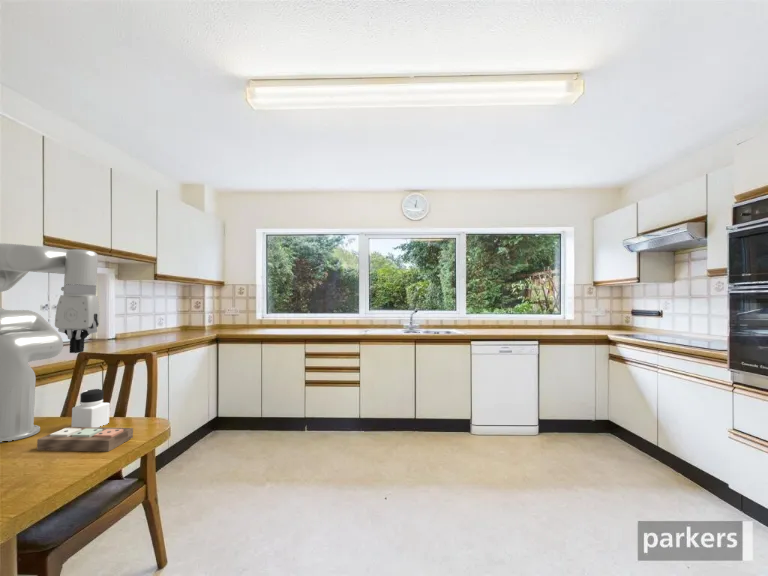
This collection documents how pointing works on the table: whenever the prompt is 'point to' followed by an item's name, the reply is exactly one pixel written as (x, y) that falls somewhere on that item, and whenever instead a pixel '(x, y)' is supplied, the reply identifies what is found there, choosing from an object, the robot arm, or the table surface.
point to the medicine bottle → (91, 410)
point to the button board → (84, 441)
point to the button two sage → (87, 432)
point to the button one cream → (65, 432)
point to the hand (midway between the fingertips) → (76, 352)
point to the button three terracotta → (109, 433)
